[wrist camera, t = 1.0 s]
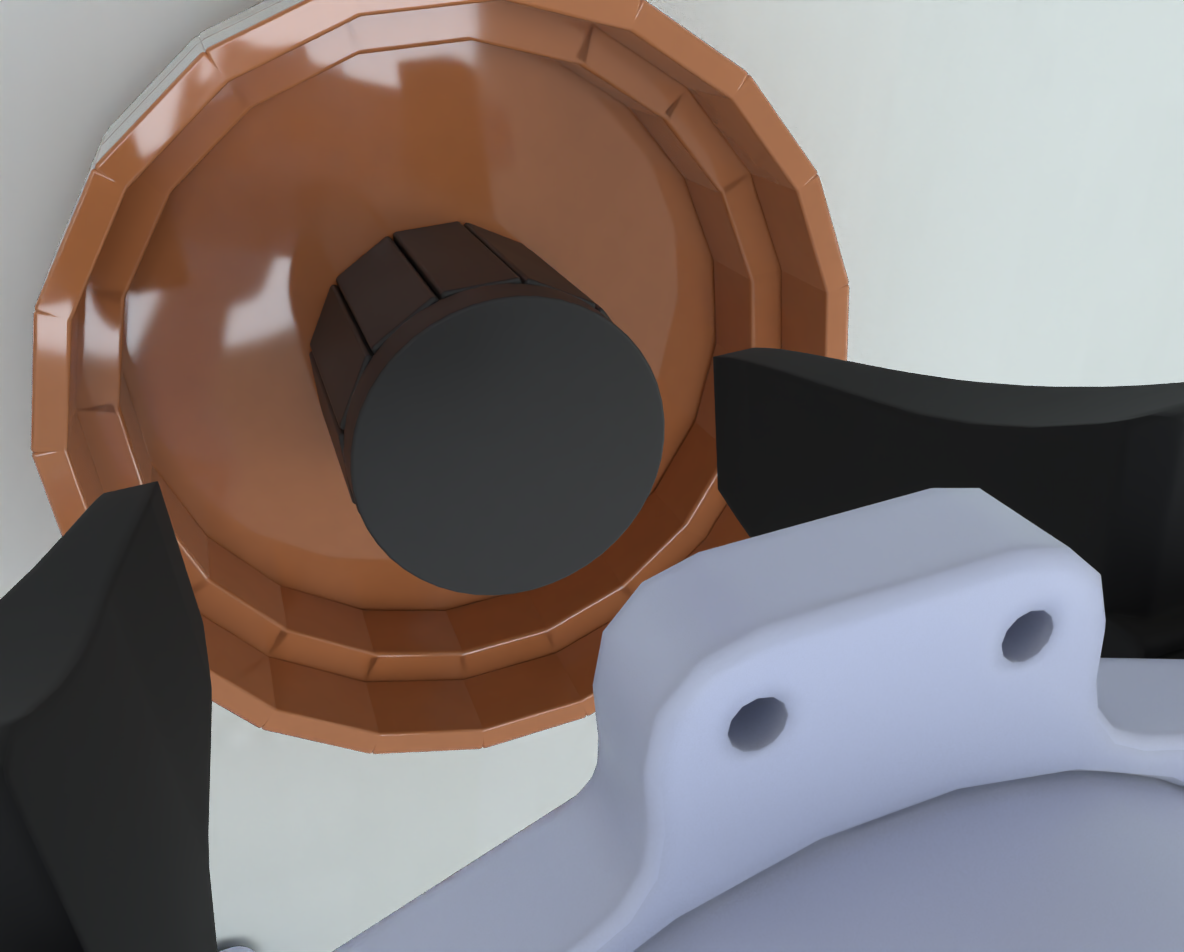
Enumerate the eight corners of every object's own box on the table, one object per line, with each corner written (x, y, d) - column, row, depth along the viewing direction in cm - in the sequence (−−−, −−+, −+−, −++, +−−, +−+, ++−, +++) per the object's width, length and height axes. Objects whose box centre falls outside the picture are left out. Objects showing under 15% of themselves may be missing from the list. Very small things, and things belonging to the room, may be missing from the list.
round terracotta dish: (754, 553, 27) (839, 640, 23) (174, 713, 23) (175, 844, 20) (745, -72, 20) (862, -76, 17) (-68, 12, 16) (-129, 28, 13)
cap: (580, 443, 23) (673, 553, 19) (341, 499, 22) (383, 631, 17) (556, 203, 21) (657, 268, 16) (285, 249, 19) (318, 333, 15)
